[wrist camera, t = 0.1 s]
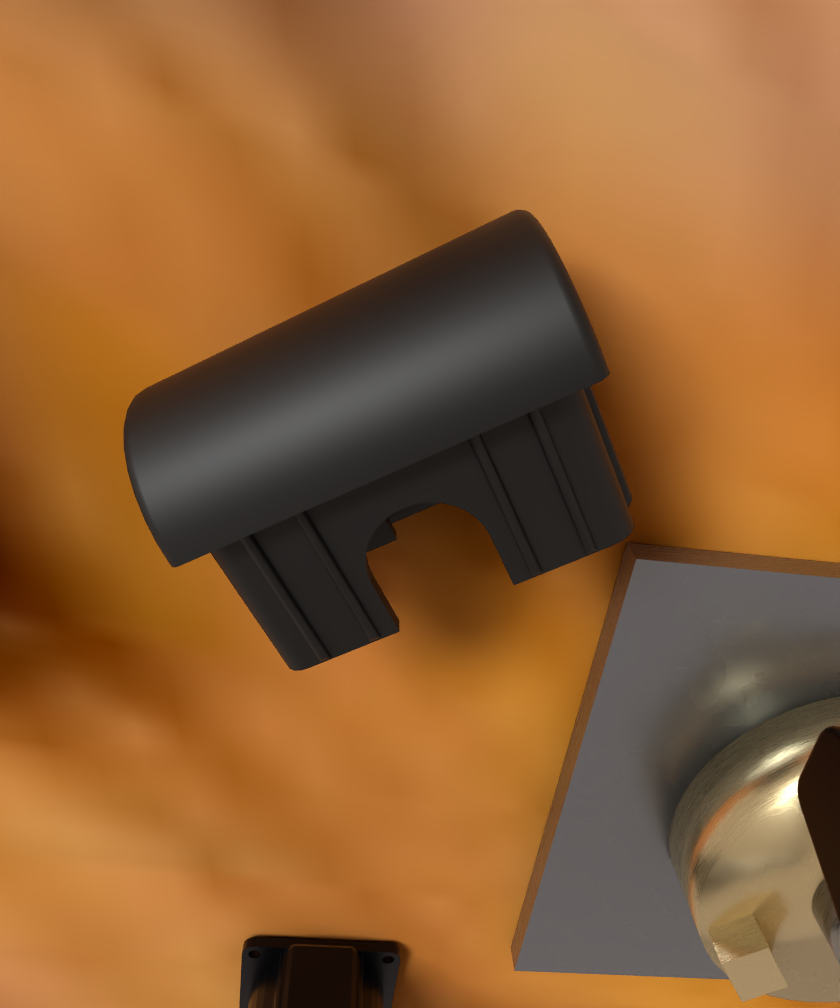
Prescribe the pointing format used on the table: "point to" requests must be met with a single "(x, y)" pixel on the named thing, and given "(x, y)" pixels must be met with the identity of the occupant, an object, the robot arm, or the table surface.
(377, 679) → the table surface
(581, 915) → the flange plate
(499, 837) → the table surface
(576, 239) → the table surface
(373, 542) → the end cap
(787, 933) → the gold disc with bar
